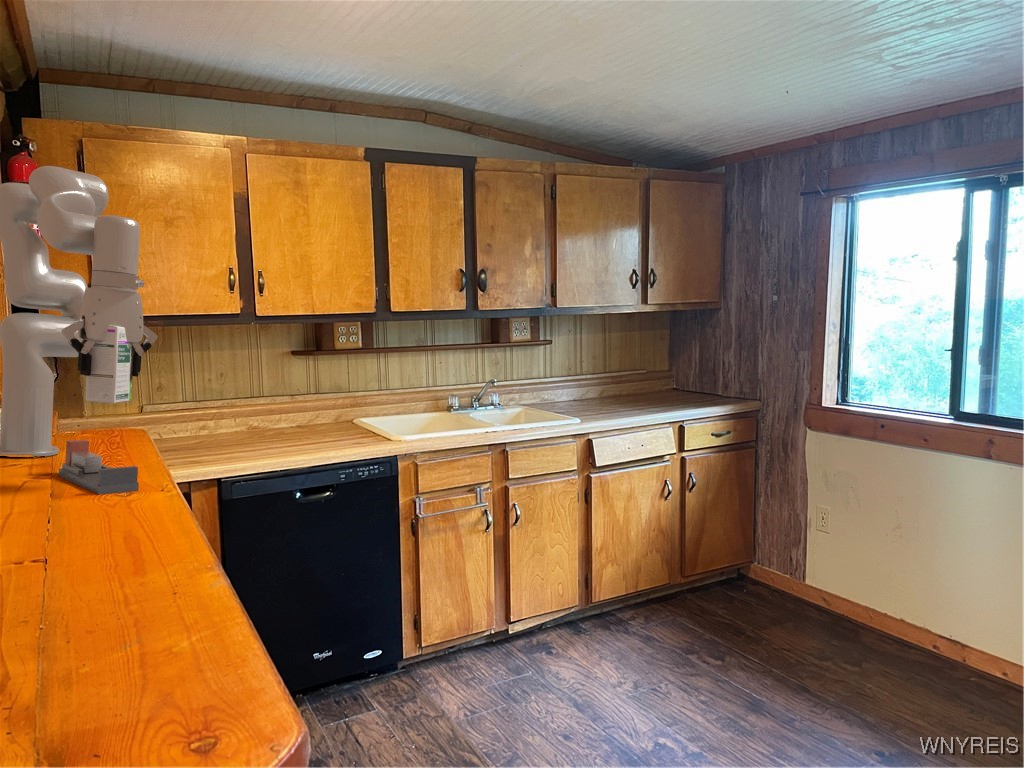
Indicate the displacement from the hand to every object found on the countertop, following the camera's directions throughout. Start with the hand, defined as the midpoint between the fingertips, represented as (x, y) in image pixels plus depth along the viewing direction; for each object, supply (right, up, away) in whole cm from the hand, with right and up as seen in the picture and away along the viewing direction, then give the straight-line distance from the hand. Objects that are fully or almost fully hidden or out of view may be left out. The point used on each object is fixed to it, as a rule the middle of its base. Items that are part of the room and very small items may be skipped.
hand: (109, 375), depth 133 cm
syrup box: (-1, -5, 0) cm, 5 cm away
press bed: (-4, -21, +3) cm, 22 cm away
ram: (-9, -19, +7) cm, 22 cm away
